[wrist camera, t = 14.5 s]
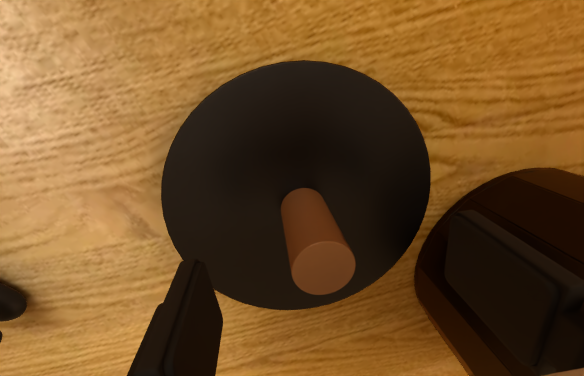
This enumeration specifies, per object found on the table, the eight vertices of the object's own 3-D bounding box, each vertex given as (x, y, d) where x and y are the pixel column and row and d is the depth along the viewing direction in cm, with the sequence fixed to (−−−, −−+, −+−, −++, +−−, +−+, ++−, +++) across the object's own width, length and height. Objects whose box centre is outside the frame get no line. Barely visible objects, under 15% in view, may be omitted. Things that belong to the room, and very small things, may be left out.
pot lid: (426, 41, 14) (554, 13, 8) (415, 274, 20) (484, 360, 14) (125, 86, 13) (13, 93, 7) (206, 315, 19) (183, 426, 13)
